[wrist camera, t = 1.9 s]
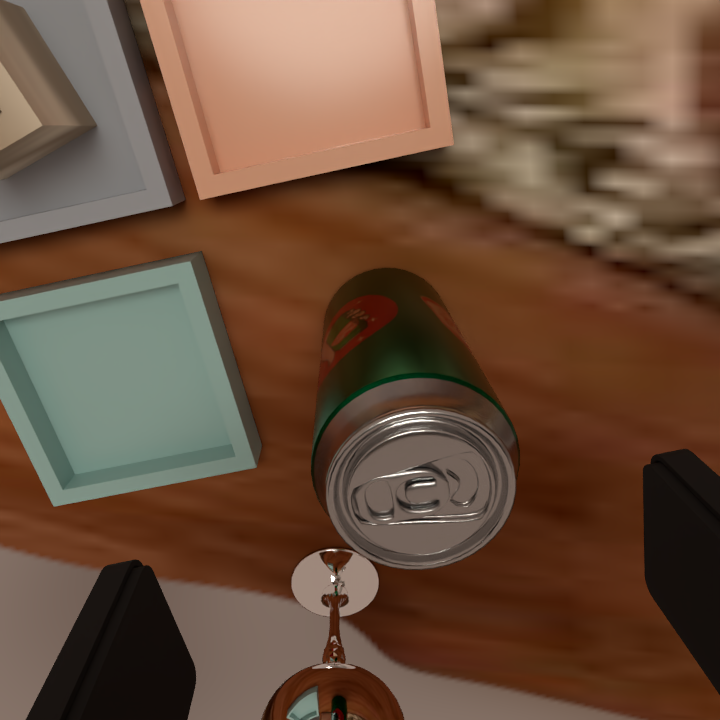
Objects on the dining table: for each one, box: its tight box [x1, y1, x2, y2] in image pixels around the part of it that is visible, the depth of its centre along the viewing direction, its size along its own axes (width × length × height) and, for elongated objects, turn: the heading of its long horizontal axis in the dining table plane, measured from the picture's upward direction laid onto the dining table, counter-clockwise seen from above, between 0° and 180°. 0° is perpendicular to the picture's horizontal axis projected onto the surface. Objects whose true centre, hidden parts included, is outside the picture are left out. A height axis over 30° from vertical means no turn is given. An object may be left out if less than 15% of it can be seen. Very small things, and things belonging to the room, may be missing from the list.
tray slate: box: [0, 0, 185, 243], centre depth 20 cm, size 9×9×2 cm
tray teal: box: [0, 251, 262, 506], centre depth 24 cm, size 9×9×2 cm
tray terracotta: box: [140, 0, 454, 200], centre depth 19 cm, size 9×9×2 cm
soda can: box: [311, 268, 520, 570], centre depth 18 cm, size 5×5×12 cm
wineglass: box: [261, 548, 404, 720], centre depth 24 cm, size 6×6×12 cm
